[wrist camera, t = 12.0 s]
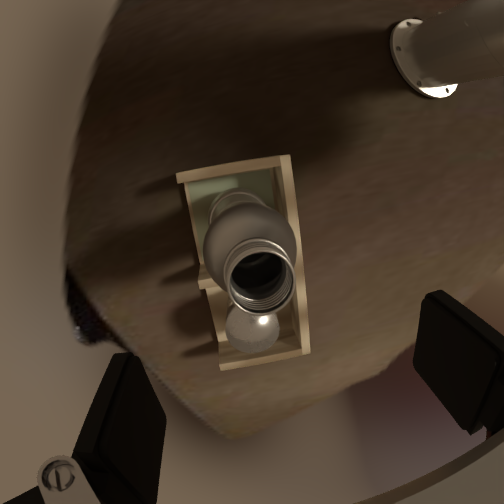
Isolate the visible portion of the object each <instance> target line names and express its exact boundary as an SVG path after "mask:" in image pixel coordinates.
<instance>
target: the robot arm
mask: <svg viewBox="0 0 504 504" xmlns="http://www.w3.org/2000/svg"><path fill="white" fill-rule="evenodd" d="M390 50H391V55H392V58H393V60H394V63H395V65H396V67H397V69H398V71H399V72H400V74H401V75H402V77H403V78H404V79H405V80H406V82H407V83H408V84H409V85H410V86H411V87H412V88H414V89H415V90H416V91H417V92H419V93H420V94H422V95H424V96H427V97H430V98H444V97H447V96H449V95H451V94H452V93H453V92H454V90H455V89H456V87H457V84H459V83H465V82H470V81H476V80H482V79H488V78H494V77H501V76H504V0H468V1H466V2H464V3H462V4H459V5H457V6H455V7H453V8H451V9H449V10H447V11H444V12H442V13H440V12H437V14H436V16H434V17H432V18H430V19H428V20H426V21H421V20H418V19H406V20H404V21H401V22H400V23H398V24H397V25H396V26H395V27H394V28H393V30H392V32H391V36H390ZM413 366H414V368H415V370H416V371H417V373H418V374H419V375H420V376H421V377H422V379H423V380H424V381H425V382H426V383H427V385H428V386H429V387H430V389H431V390H432V391H433V392H434V394H435V395H436V396H437V397H438V399H439V400H440V401H441V403H442V404H443V405H444V407H445V408H446V409H447V410H448V412H449V413H450V414H451V415H452V417H453V418H454V419H455V421H456V422H457V423H458V425H459V426H460V427H461V428H462V429H463V430H467V431H468V433H469V434H470V435H472V434H474V433H475V432H477V431H478V430H480V429H482V427H483V425H484V426H485V427H486V429H487V430H486V440H485V441H484V442H483V443H481V444H479V445H478V446H476V447H475V448H473V449H472V450H470V451H468V452H467V453H465V454H463V455H462V456H460V457H458V458H457V459H455V460H453V461H451V462H449V463H447V464H446V465H444V466H442V467H440V468H438V469H436V470H434V471H432V472H430V473H428V474H426V475H424V476H422V477H420V478H418V479H416V480H413V481H411V482H409V483H407V484H405V485H402V486H400V487H397V488H395V489H393V490H390V491H388V492H385V493H383V494H380V495H377V496H375V497H372V498H369V499H366V500H363V501H360V502H357V503H354V504H504V336H503V335H502V334H500V333H499V332H498V331H497V330H495V329H494V328H493V327H492V326H490V325H489V324H488V323H486V322H485V321H484V320H483V319H481V318H480V317H478V316H477V315H476V314H475V313H473V312H472V311H471V310H469V309H468V308H467V307H465V306H464V305H462V304H461V303H460V302H458V301H457V300H456V299H454V298H453V297H451V296H450V295H449V294H447V293H446V292H444V291H443V290H437V291H434V292H431V293H428V294H426V296H425V298H424V299H423V300H422V303H421V311H420V319H419V326H418V333H417V339H416V346H415V352H414V357H413ZM165 430H166V415H165V413H164V410H163V408H162V406H161V404H160V402H159V400H158V398H157V396H156V394H155V392H154V390H153V387H152V385H151V383H150V381H149V378H148V376H147V374H146V372H145V369H144V367H143V365H142V362H141V360H140V358H139V357H138V356H134V355H133V353H131V352H126V353H115V354H114V355H113V356H112V359H111V361H110V363H109V365H108V368H107V369H106V372H105V374H104V376H103V378H102V381H101V383H100V385H99V388H98V390H97V393H96V395H95V397H94V399H93V402H92V404H91V407H90V409H89V412H88V414H87V416H86V419H85V421H84V424H83V427H82V429H81V432H80V434H79V437H78V439H77V442H76V445H75V448H74V450H73V454H72V457H68V456H64V455H63V456H55V457H52V458H50V459H49V460H47V461H45V462H44V464H43V465H42V466H41V467H40V469H39V471H38V475H37V481H38V486H36V487H34V488H32V489H30V490H29V491H27V492H25V493H23V494H21V495H19V496H17V497H15V498H13V499H11V500H9V501H7V502H5V503H3V504H156V502H157V495H158V486H159V485H158V484H159V477H160V468H161V460H162V452H163V445H164V437H165Z"/></svg>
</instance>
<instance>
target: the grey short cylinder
mask: <svg viewBox="0 0 504 504" xmlns="http://www.w3.org/2000/svg"><path fill="white" fill-rule="evenodd" d="M279 331H280V327H279V323H278V319H277V315H276V313H273V314H270V315H266V316H254V315H250V314H247V313H245V312H243V311H241V310H240V309H238V308H237V307H236V306H235V305H234V303H233V302H232V300H231V299H230V297H229V296H228V300H227V314H226V329H225V332H226V337H227V339H228V341H229V343H230V344H231V345H232V346H233V347H234V348H236V349H237V350H239V351H242V352H245V353H258V352H262V351H264V350H266V349H268V348H270V347H271V346H272V345H273V344H274V343H275V342H276V340H277V338H278V336H279Z"/></svg>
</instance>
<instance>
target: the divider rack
mask: <svg viewBox="0 0 504 504" xmlns="http://www.w3.org/2000/svg"><path fill="white" fill-rule="evenodd" d="M176 178H177V183H183V182H184V186H185V192H186V197H187V202H188V207H189V212H190V218H191V223H192V228H193V233H194V237H195V242H196V247H197V252H198V256H199V261H200V270H199V277H198V283H199V288H200V289H206V292H207V296H208V301H209V305H210V309H211V313H212V317H213V322H214V326H215V330H216V334H217V338H218V342H219V366H220V369H221V371H222V370H229V369H235V368H241V367H246V366H252V365H257V364H263V363H268V362H273V361H278V360H283V359H287V358H292V357H296V356H301V355H305V354H310V339H309V325H308V312H307V300H306V289H305V278H304V267H303V257H302V248H301V238H300V230H299V221H298V212H297V204H296V196H295V188H294V181H293V173H292V166H291V159H290V155H277V156H270V157H263V158H256V159H249V160H243V161H236V162H230V163H224V164H219V165H213V166H207V167H202V168H197V169H192V170H186V171H182V172H179V173H176ZM237 187H238V188H246V189H249V190H251V191H253V192H255V193H256V194H258V195H259V196H260V197H261V198H262V200H263V201H264V202H265V204H266V206H268V207H270V208H272V209H274V210H276V211H277V212H279V213H280V214H281V215H282V216H283V217H284V218H285V219H286V220H287V221H288V223H289V224H290V226H291V228H292V230H293V232H294V235H295V238H296V244H297V256H296V264H295V267H294V271H295V275H296V287H295V291H294V294H293V296H292V298H291V300H290V301H289V302H288V303H287V305H286V306H285V307H283V308H282V309H281V310H279V311H277V312H276V315H277V319H278V323H279V327H280V331H279V336H278V338H277V340H276V342H275V343H274V344H273V345H272V346H271V347H270V348H268V349H266V350H264V351H262V352H258V353H245V352H242V351H239V350H237V349H236V348H234V347H233V346H232V345H231V344H230V343H229V341H228V339H227V337H226V332H225V329H226V314H227V300H228V296H229V294H228V293H227V292H225V291H224V290H223V289H221V288H220V287H219V286H218V285H217V284H216V283H215V282H214V281H213V279H212V278H211V276H210V275H209V273H208V271H207V269H206V267H205V264H204V259H203V242H204V237H205V234H206V232H207V230H208V228H209V226H208V211H209V208H210V206H211V203H212V202H213V200H214V199H215V198H216V197H217V196H218V195H219V194H220V193H222V192H223V191H225V190H228V189H230V188H237Z"/></svg>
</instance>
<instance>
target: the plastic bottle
mask: <svg viewBox="0 0 504 504" xmlns="http://www.w3.org/2000/svg"><path fill="white" fill-rule="evenodd" d="M208 226H209V228H208V230H207V232H206V234H205V237H204V242H203V259H204V264H205V267H206V269H207V271H208V273H209V275H210V276H211V278H212V279H213V281H214V282H215V283H216V284H217V285H218V286H219V287H220V288H221V289H223V290H224V291H225V292H227V293H228V294H229V297H230V299H231V300H232V302H233V303H234V305H235V306H236V307H237V308H238V309H240V310H241V311H243V312H245V313H247V314H250V315H254V316H266V315H270V314H273V313H276V312H277V311H279V310H281V309H282V308H283V307H285V306H286V305H287V303H288V302H289V301H290V300H291V298H292V296H293V294H294V291H295V287H296V275H295V271H294V267H295V264H296V256H297V244H296V238H295V235H294V232H293V230H292V228H291V226H290V224H289V223H288V221H287V220H286V219H285V218H284V217H283V216H282V215H281V214H280V213H279V212H277V211H276V210H274V209H272V208H270V207H268V206H266V204H265V202H264V201H263V200H262V198H261V197H260V196H259V195H258V194H256V193H255V192H253V191H251V190H249V189H246V188H238V187H237V188H230V189H228V190H225V191H223V192H222V193H220V194H219V195H218V196H217V197H216V198H215V199H214V200H213V202H212V203H211V206H210V208H209V211H208Z"/></svg>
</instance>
